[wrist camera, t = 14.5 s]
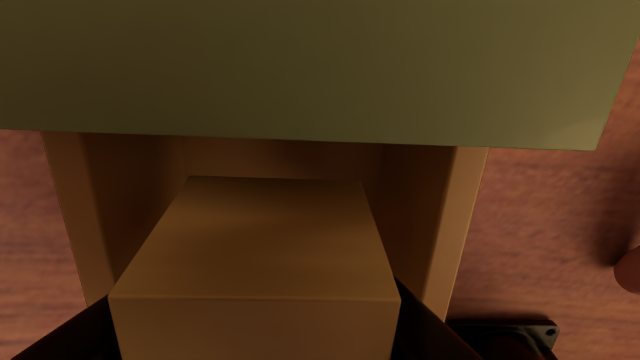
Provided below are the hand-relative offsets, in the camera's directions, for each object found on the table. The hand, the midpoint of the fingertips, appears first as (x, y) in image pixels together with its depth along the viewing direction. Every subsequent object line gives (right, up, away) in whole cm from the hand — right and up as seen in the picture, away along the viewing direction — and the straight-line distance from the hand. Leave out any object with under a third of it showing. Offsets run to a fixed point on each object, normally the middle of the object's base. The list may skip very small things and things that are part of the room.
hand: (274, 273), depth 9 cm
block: (0, 0, +1) cm, 1 cm away
